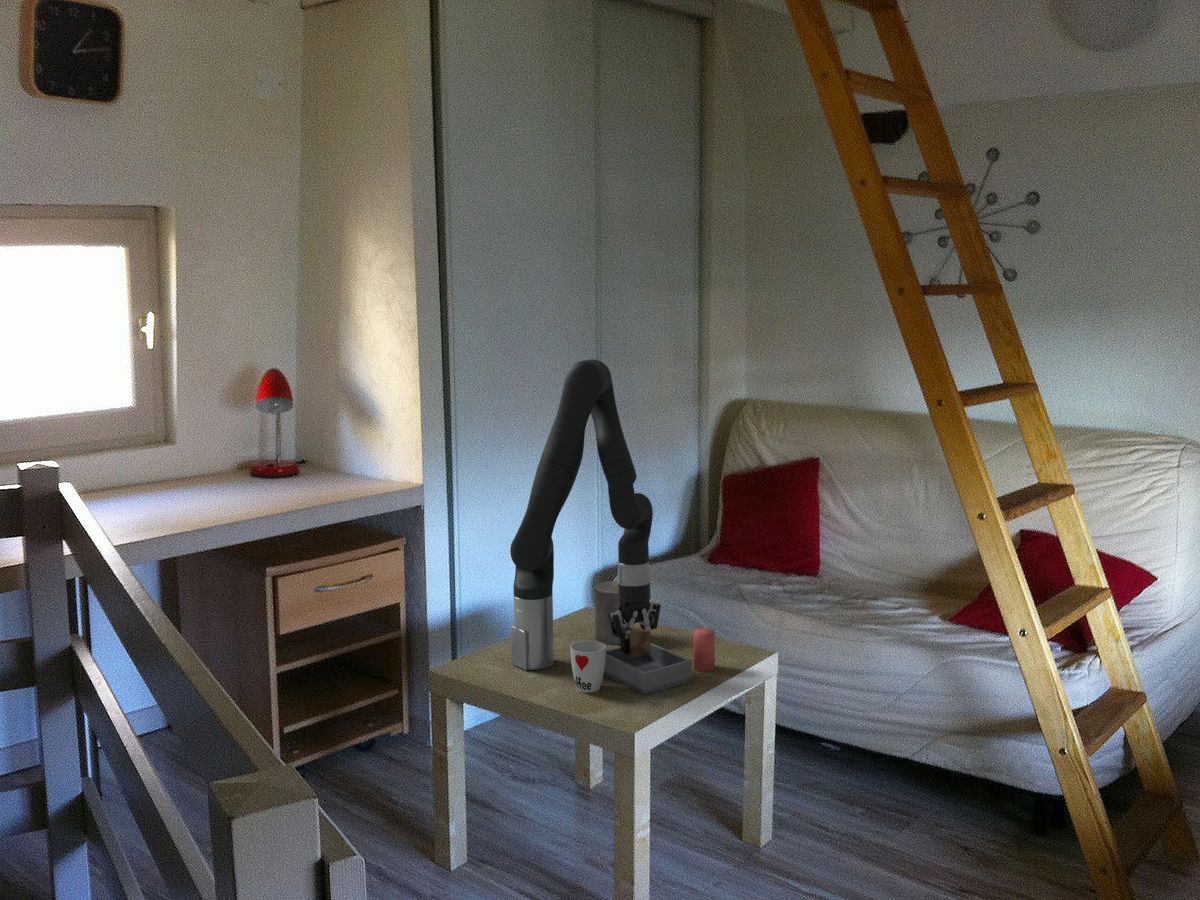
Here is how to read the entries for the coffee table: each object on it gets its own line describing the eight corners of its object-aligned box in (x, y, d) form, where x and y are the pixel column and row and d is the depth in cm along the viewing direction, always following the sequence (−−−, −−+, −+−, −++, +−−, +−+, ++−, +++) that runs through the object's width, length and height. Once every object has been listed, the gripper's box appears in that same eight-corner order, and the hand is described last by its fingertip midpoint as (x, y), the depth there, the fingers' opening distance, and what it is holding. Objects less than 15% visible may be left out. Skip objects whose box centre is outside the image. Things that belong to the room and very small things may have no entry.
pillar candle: (588, 635, 314) (588, 579, 311) (622, 629, 319) (621, 573, 316) (607, 647, 306) (606, 589, 303) (641, 640, 310) (640, 583, 307)
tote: (644, 695, 274) (644, 673, 274) (598, 672, 288) (598, 652, 288) (691, 681, 282) (691, 660, 281) (644, 660, 296) (644, 640, 295)
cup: (563, 687, 279) (562, 645, 278) (592, 679, 284) (591, 637, 282) (584, 698, 273) (584, 655, 271) (613, 689, 278) (613, 647, 276)
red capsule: (702, 673, 287) (702, 636, 285) (689, 667, 291) (689, 631, 289) (719, 669, 290) (719, 632, 288) (705, 663, 294) (705, 626, 292)
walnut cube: (633, 657, 284) (633, 636, 283) (620, 651, 288) (620, 631, 287) (650, 652, 287) (650, 632, 286) (637, 647, 291) (637, 626, 290)
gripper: (648, 571, 292) (649, 639, 295) (599, 582, 284) (601, 653, 287) (668, 577, 286) (669, 648, 289) (619, 589, 278) (620, 661, 281)
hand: (635, 650), depth 288 cm, fingers closed on walnut cube, 5 cm apart
